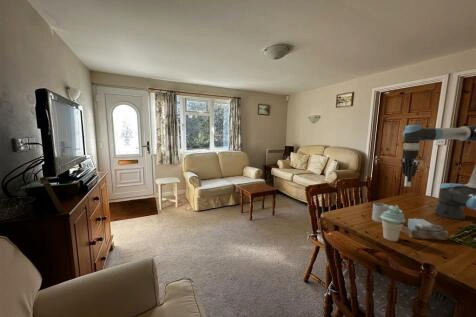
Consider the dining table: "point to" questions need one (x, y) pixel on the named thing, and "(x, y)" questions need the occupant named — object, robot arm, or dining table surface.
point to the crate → (416, 221)
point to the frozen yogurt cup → (392, 223)
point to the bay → (426, 231)
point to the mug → (378, 211)
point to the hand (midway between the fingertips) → (407, 186)
